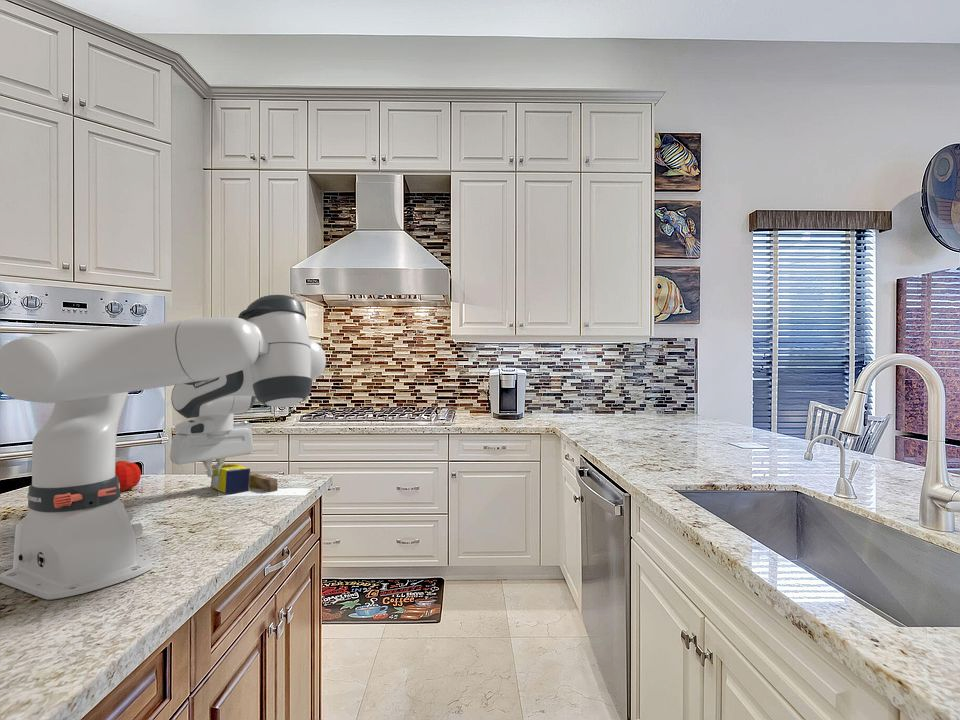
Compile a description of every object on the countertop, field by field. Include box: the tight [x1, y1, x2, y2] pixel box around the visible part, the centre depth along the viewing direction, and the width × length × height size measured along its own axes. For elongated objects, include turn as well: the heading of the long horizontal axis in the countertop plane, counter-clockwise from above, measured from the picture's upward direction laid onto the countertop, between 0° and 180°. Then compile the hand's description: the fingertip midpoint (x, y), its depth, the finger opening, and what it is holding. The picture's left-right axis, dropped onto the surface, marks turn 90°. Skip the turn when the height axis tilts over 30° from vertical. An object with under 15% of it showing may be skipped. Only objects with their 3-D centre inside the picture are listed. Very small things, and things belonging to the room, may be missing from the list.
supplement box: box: [210, 463, 251, 495], centre depth 133 cm, size 6×6×11 cm
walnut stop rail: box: [249, 471, 278, 493], centre depth 136 cm, size 16×2×3 cm, turn 55°
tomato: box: [115, 460, 142, 493], centre depth 131 cm, size 11×11×8 cm
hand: (213, 476), depth 130 cm, fingers closed
